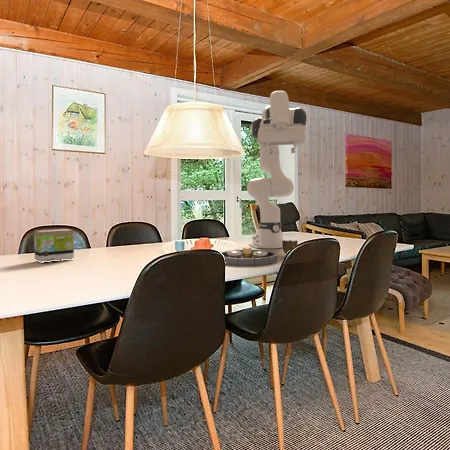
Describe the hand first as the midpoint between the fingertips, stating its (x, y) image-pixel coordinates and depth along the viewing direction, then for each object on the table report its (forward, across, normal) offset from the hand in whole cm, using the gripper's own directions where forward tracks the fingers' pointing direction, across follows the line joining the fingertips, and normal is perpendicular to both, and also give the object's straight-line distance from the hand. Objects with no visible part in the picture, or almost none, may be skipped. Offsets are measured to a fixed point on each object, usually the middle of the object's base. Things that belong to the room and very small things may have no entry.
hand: (281, 153), depth 166 cm
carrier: (+39, +16, -28) cm, 51 cm away
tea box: (+38, +107, -27) cm, 117 cm away
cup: (+36, -4, -36) cm, 52 cm away
